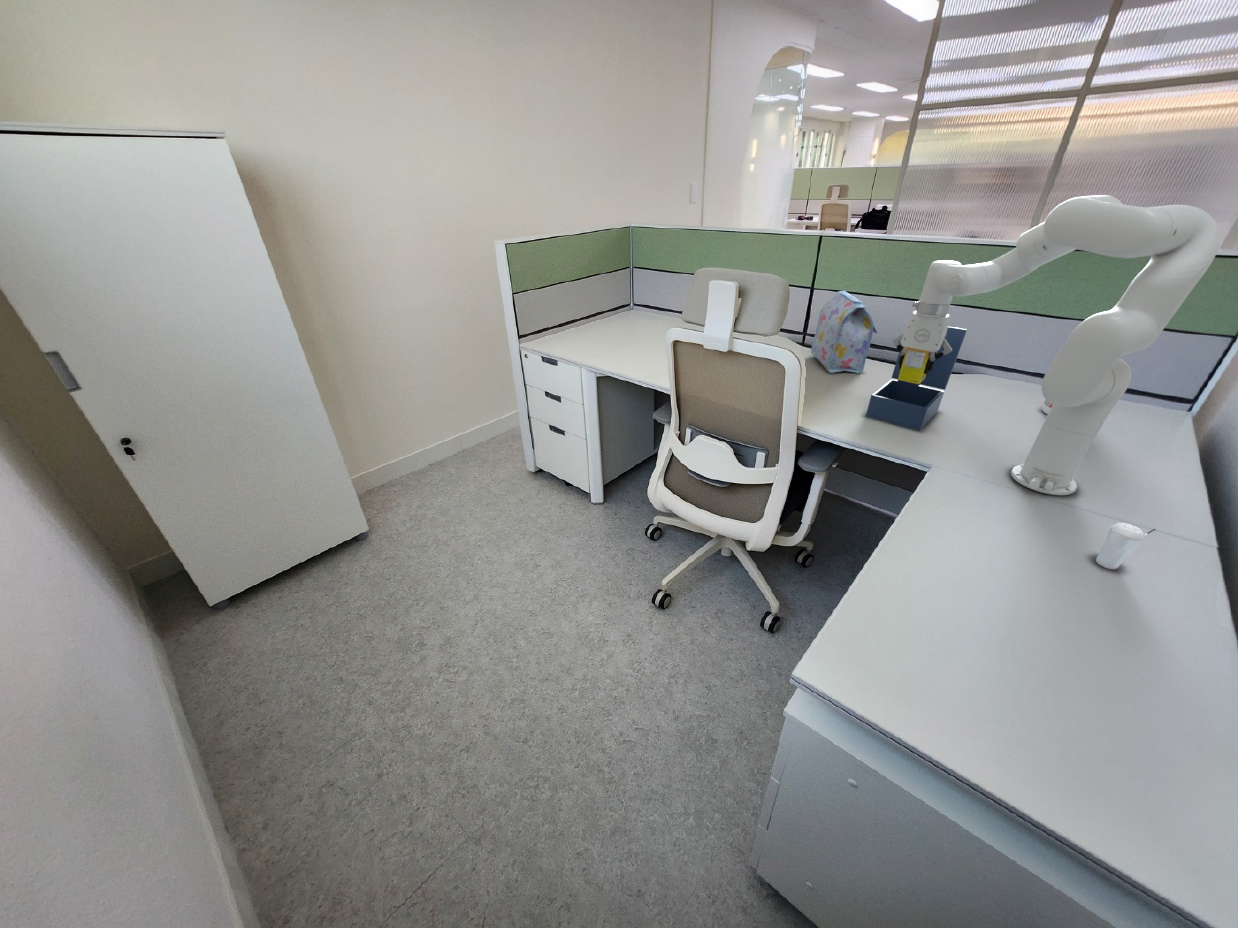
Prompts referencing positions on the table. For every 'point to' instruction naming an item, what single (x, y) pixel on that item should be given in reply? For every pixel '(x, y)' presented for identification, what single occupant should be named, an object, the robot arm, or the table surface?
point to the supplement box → (913, 366)
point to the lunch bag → (843, 334)
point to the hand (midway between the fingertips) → (914, 369)
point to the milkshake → (1119, 544)
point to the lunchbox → (904, 404)
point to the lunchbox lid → (941, 361)
